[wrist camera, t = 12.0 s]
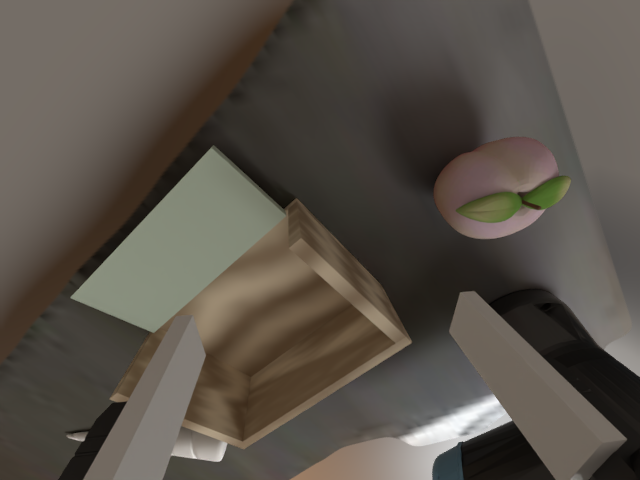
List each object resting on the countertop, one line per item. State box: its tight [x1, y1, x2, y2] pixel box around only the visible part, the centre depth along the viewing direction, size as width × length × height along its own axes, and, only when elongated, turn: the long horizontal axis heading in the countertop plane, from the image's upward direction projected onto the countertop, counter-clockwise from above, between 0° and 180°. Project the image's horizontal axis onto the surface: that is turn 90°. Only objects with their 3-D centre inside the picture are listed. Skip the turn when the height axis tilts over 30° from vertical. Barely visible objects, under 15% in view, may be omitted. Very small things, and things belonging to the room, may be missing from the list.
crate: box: [110, 198, 412, 449], centre depth 28 cm, size 16×24×9 cm, turn 130°
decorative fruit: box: [433, 137, 571, 239], centre depth 23 cm, size 9×8×10 cm
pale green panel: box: [71, 145, 286, 333], centre depth 25 cm, size 2×21×8 cm
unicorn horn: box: [67, 426, 227, 462], centre depth 39 cm, size 5×24×5 cm, turn 77°
